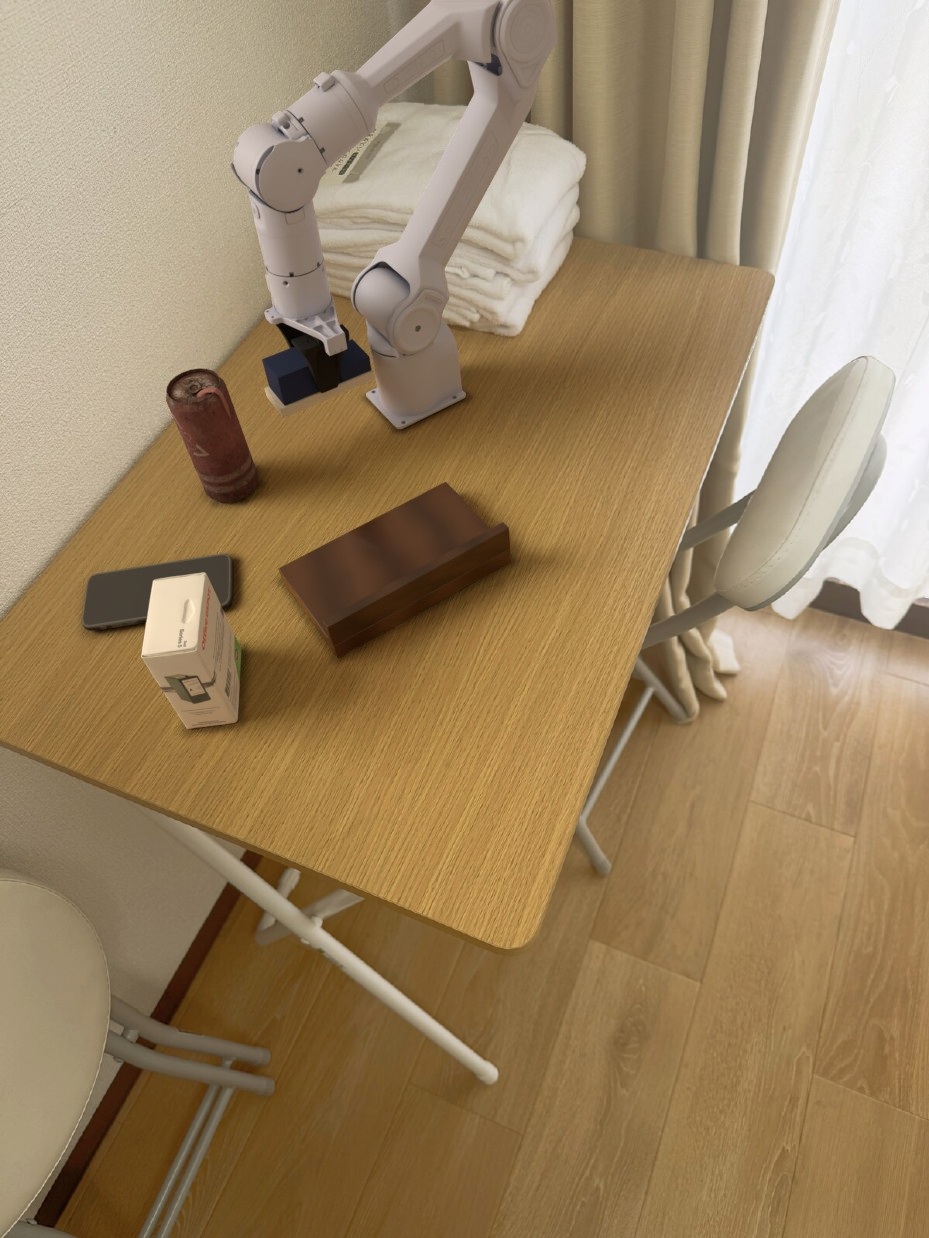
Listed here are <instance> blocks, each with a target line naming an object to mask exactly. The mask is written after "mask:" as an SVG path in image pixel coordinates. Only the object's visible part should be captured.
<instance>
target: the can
mask: <svg viewBox="0 0 929 1238" xmlns="http://www.w3.org/2000/svg"><path fill="white" fill-rule="evenodd" d="M165 389H166V391H165V393H166V394H165V395H166V396H165V402H166V404H167V406H168V408H169V411H170V413H171V416H172V418H173V420H174V423H175V425H176V427H177V430H178V432H179V434H180V436H181V439H182V441H183V444H184V445H185V448H186V450H187V453H188V455H189V457H190V460H191V462H192V464H193V466H194V469H195V471H196V475H198V478H199V481H200V483H201V485H202V487H203V489H204V492H205V494H206V496H207V497H209V498H210V499H211V500H213V501H215V502H219V503H221V504H231V503H237V502H240V501H243V500H245V499H246V498H248V497H249V496H251V494H252V493H254V491H255V489H256V487H257V484H258V482H259V473H258V470H257V467H256V465H255V462H254V459H253V456H252V453H251V451H250V447H249V446H248V441H247V439H246V437H245V435H244V431H243V429H242V426H241V423H240V421H239V418H238V415H237V413H236V409H235V406H234V403H233V401H232V400H233V399H232V398H231V396H230V395H231V394H230V393H229V390H228V387H227V384H226V382H225V380H224V379H223V378H222V377H220V376H219V374H218V373H217V372H215V371H214V370H213V369H209V368H200V367H199V368H192V369H188V370H186V371H183V372H181V373H179V374H176V375H175V376H174V377H173V378H172V379H171V380H170V381H169V382H168V383H167V386H166V388H165Z"/></svg>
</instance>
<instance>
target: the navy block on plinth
mask: <svg viewBox="0 0 929 1238" xmlns="http://www.w3.org/2000/svg"><path fill="white" fill-rule="evenodd" d="M370 358H371V356H369V354H368V353H367V352H366V351H365V350H364V349H363V348H361V346H360V345H359V344H358V342H356V340H354V339H353V338H351V339H349V341H348V343H347V349H346V350H344V352H343V355H342V358H341V364H340V374H339V384H338V387H337V388H334V389H332V390H329V391H327V392H325V393H321V392H320V391H319V390H318V388H317V386H316V384H315V382H314V380H313V377H312V375H311V372H310V369H309V367H308V365H307V363H306V361H305V359H304V357H303V356H302V354H301V353H300V352H299V351H298V349H297V348H296V347H292V348H289V347H288V348H287V349H284V350H282V351H279V352H277V353H274V354H271V355H269V356H267V357H264V358H261V361H262V366H263V369H264V372H265V377H266V380H267V384H268V386H266V387H264V392H265V396H266V398H267V399H268V400H269V402H270V403H271V404H272V405H273V407H274V408H275V409H276V411H277V412H278V413H279V414H280V416H281V417H282V418H286V417H287V418H288V417H289V416H291V415H294V414H297V413H299V412H301V411H304V410H306V409H308V408H311V407H313V406H316V405H318V404H321V403H323V402H326V401H327V400H330V399H332V398H335V397H337V396H339V395H342V394H344V393H346V392H349V391H352V390H354V389H357V388H359V387H361V386H363V385H366V384H369V383H370V382H373V381H375V379H374V378H375V377H374V371H373V370H372V364H371V359H370Z"/></svg>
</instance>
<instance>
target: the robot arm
mask: <svg viewBox="0 0 929 1238" xmlns="http://www.w3.org/2000/svg"><path fill="white" fill-rule="evenodd" d="M558 39H559V37H558V29H557V24H556V17H555V11H554V6H553V3H552V0H430V1H429V3H428V4H427V5H425V7H424V8H422V10H421V11H419V12H418V13H417V14H416V15H415V16H414V17H413V18H412V19H410V21H409V22H408V23H407V24H406V25H404V26H403V27H402V28H401V29H400V30H399V31H398V32H397V33H396V34H395V35H394V36H393V37H391V38H390V40H388V41H387V42H386V43H385V44H384V45H383V46H382V47H381V48H379V50H378V51H376V52H375V53H374V54H373V55H372V56H371V57H370V58H369V59H368V60H367V61H365V62H364V64H363V65H361V66H360V67H359V68H358V69H357V70H356V71H354V72H350V71H345V70H341V69H334V70H333V71H332V72H330V74H328V73H327V72H325V71H321V72H320V73H319V74H318V75H317V76H315V77H314V78H313V80H312V82H313V84H314V86H313V87H312V88H311V89H310V90H308V91H307V92H306V93H305V94H303V95H302V96H300V98H298V99H297V100H296V101H294V103H292V104H291V105H290V106H289V107H287V108H286V109H285V110H283V111H282V110H281V109H280V110H278V111H277V112H275V113H274V114H273V115H271V119H272V121H271V122H270V123H268V122H263V124H261V123H255V124H253V125H250V126H249V127H248V128H246V129H245V130H244V131H243V132H242V133H241V134H240V136H239V137H238V139H237V140H236V145H235V146H234V149H233V154H232V159H233V161H231V162H229V165H230V168H231V171H232V173H233V175H234V176H235V178H236V179H237V180H238V181H239V182H240V183H241V184H242V185H243V186H245V188H247V189H248V192H247V195H248V198H249V203H250V208H251V211H252V216H253V223H254V227H255V231H256V234H257V238H258V243H259V247H260V252H261V256H262V259H263V260H262V261H263V263H264V268H265V272H266V273H264V277H265V282H266V286H267V289H268V291H269V292H270V297H271V298H270V299H271V303H272V306H271V307H270V308H267V309H265V310H264V311H263V313H264V316H265V317H264V318H265V319H266V320H267V322H268V323H269V324H270V325H273V326H276V327H277V329H278V330H279V332H280V333H281V335H282V336H283V339H284V340H285V342H286V344H287V347H288V349H289V348H292V347H296V348H297V349H298V351H299V352H300V353H301V354H302V356H303V357H304V359H305V361H306V363H307V365H308V367H309V369H310V372H311V375H312V377H313V380H314V382H315V384H316V386H317V388H318V390H319V391H320V392H321V393H325V392H327V391H329V390H332V389H334V388H337V387H338V384H339V374H340V364H341V358H342V355H343V352H344V350H346V349H347V343H348V341H349V340H351V339H350V330H349V329H348V328H347V327H346V326H345V325H344V324H343V323H341V324H340V321H339V318H338V313H337V308H336V304H335V299H334V295H333V294H332V292H331V289H330V284H329V280H328V279H329V278H328V274H327V268H326V262H325V257H324V252H323V248H322V242H321V236H320V231H319V225H318V221H317V213H316V209H315V206H314V201H313V199H314V198H315V196H316V193H317V191H318V189H319V186H320V181H321V179H322V178H323V176H324V175H326V174H327V170H328V169H329V168H330V167H331V166H333V165H334V164H335V163H337V161H339V160H340V159H341V158H343V157H344V156H345V155H346V154H347V153H349V152H351V150H352V149H354V148H355V147H356V146H357V145H358V144H360V143H361V142H362V141H364V140H365V139H366V138H367V137H368V136H370V135H371V134H372V133H373V132H374V131H375V130H376V127H377V120H378V114H379V109H380V108H382V107H383V106H384V105H386V104H388V103H389V102H390V101H392V100H393V99H395V98H396V97H397V96H399V95H401V94H402V93H403V92H405V91H406V90H407V89H409V88H410V87H412V86H413V85H415V84H416V83H417V82H419V81H420V80H421V79H423V78H424V77H426V76H427V75H429V74H430V73H431V72H433V71H435V70H436V69H437V68H439V67H440V66H441V65H443V64H445V63H446V62H447V61H449V60H457V61H464V62H467V65H468V69H469V73H470V78H471V82H472V86H473V90H474V91H473V95H472V96H471V99H470V101H469V103H468V105H467V107H466V108H465V111H464V113H463V115H462V116H461V119H460V121H459V123H458V124H457V126H456V128H455V130H454V133H453V135H452V137H451V138H450V140H449V142H448V144H447V146H446V148H445V150H444V152H443V153H442V155H441V157H440V160H439V162H438V164H437V165H436V168H435V169H434V171H433V174H432V175H431V177H430V179H429V181H428V183H427V185H426V187H425V189H424V190H423V192H422V194H421V197H420V199H419V200H418V203H417V204H416V206H415V209H414V210H413V213H412V214H411V216H410V219H408V222H407V224H406V226H405V228H404V230H403V232H402V234H401V236H400V238H399V240H397V241H395V242H393V243H389V244H386V245H385V246H382V247H380V248H378V250H377V252H376V254H375V256H374V258H373V259H372V261H370V263H369V264H368V265H367V266H366V267H364V269H362V270H361V271H360V272H359V273H358V274H357V276H356V278H355V279H354V281H353V283H352V286H351V291H350V302H351V305H352V307H353V309H354V311H355V312H356V313H357V314H358V315H359V316H361V318H364V319H365V323H366V329H367V330H366V331H367V333H366V335H367V336H366V337H367V342H368V348H369V353H370V358H371V362H372V367H373V374H374V378H375V383H376V387H374V388H373V389H371V390H369V391H367V392H366V393H365V396H366V398H367V399H368V401H370V403H372V404H373V406H374V407H375V408H376V409H377V410H378V411H379V412H380V413H381V414H382V415H383V416H384V417H385V418H386V419H387V420H388V421H389V422H390V423H391V424H392V426H393V427H395V429H396V430H403V429H405V428H407V427H409V426H411V425H413V424H415V423H417V422H419V421H421V420H424V419H425V418H427V417H429V416H431V415H433V414H436V413H438V412H439V411H441V410H443V409H445V408H447V407H450V406H452V405H453V404H456V403H457V402H459V401H462V400H464V399H465V398H466V397H467V394H466V392H465V390H463V385H462V375H461V365H460V356H459V348H458V345H457V341H456V338H455V336H454V334H453V332H452V330H451V329H450V327H449V325H448V324H447V323H446V322H445V320H443V318H442V317H443V313H444V310H445V308H446V305H447V304H448V302H449V300H450V291H449V286H448V285H449V284H448V281H447V276H446V267H447V265H448V264H449V262H450V260H451V258H452V256H453V254H454V252H455V250H456V248H457V246H458V245H459V243H460V241H461V239H462V238H463V236H464V234H465V232H466V230H467V228H468V226H469V224H470V222H471V221H472V219H473V217H474V215H475V213H476V211H477V210H478V208H479V206H480V204H481V202H482V200H483V199H484V196H485V195H486V193H487V192H488V189H489V188H490V186H491V184H492V182H493V180H494V179H495V176H496V174H497V172H498V171H499V168H500V167H501V165H502V163H503V162H504V160H505V158H506V157H507V154H508V152H509V150H510V148H511V147H512V145H513V143H514V141H515V139H516V138H517V135H518V133H519V132H520V130H521V128H522V126H523V124H524V123H525V121H526V118H527V117H528V115H529V113H530V112H531V109H532V107H533V104H534V102H535V99H536V95H537V91H538V85H539V81H540V77H541V72H542V70H543V68H544V66H545V64H546V63H547V60H548V59H549V57H550V55H551V54H552V51H553V50H554V47H555V46H556V44H557V42H558Z"/></svg>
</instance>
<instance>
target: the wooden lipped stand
mask: <svg viewBox="0 0 929 1238" xmlns="http://www.w3.org/2000/svg"><path fill="white" fill-rule="evenodd" d="M510 537H511V536H510V527H509V526H508V525H507V524H506V523H505V522H504V521H502V522H500V523H499V524H497V525H495V526H493V527H490V525H488V524H487V523H486V522H485V521H484V520H483V519H482V517H480V515H478V513H477V512H476V511H475V510H474V509H473V508H472V507H471V506H470V505H469V504H468V503H467V502H466V501H465V500H464V499H463V498H462V497H461V496H460V495H459V494H458V492H456V490H454V489H453V487H451V485H450V484H449V483H448V482H447V481H443V482H442V483H440V484H438V485H436V486H434V487H433V488H430V489H428V490H426V491H425V492H422V493H421V494H418V495H417V496H415V497H413V498H411V499H409V500H407V501H406V502H403V503H402V504H400V505H397V506H395V507H394V508H392V509H390V510H388V511H386V512H384V513H381V514H380V515H379V516H377V517H375V518H373V519H371V520H369V521H367V522H365V523H363V524H361V525H359V526H357V527H355V528H353V529H352V530H350V531H347V532H345V533H344V534H342V535H340V536H338V537H336V538H334V539H332V540H330V541H328V542H326V543H325V544H322V545H321V546H318V547H317V548H315V549H313V550H310V551H309V552H307V553H305V554H304V555H303V554H302V555H301V556H299V557H298V558H296V559H294V560H291V561H290V562H287V563H286V564H284V565H282V566H280V567H279V568H278V569H277V570H278V572H279V575H280V577H281V580H282V582H283V584H284V585H285V586H286V588H287V589H288V590H289V592H290V593H291V595H292V596H293V598H294V599H295V600H296V602H297V603H298V605H299V606H300V607H301V609H302V610H303V612H304V614H306V616H307V618H308V619H309V620H310V621H311V623H312V625H314V628H315V629H316V630H317V632H318V633H319V634H320V636H321V637H322V639H323V640H324V641H325V643H326V645H328V647H329V648H330V649H331V651H332V653H333V654H334V655H335V657H336V658H337V659H340V658H342V657H343V656H346V655H347V654H349V653H351V652H353V651H354V650H356V649H358V648H360V647H362V646H364V645H365V644H367V643H368V642H370V641H372V640H374V639H376V638H377V637H380V636H381V635H383V634H385V633H386V632H388V631H390V630H391V629H393V628H395V627H397V626H399V625H401V624H402V623H404V622H407V620H409V619H412V618H413V617H415V616H417V615H419V614H420V613H422V612H424V611H426V610H427V609H429V608H431V607H433V606H434V605H436V604H438V603H440V602H442V601H443V600H445V599H447V598H449V597H451V596H453V595H454V594H456V593H458V592H460V591H461V590H463V589H465V588H466V587H468V586H470V585H472V584H474V583H476V582H477V581H479V580H480V579H481V580H482V578H484V577H486V576H489V574H492V573H493V572H495V571H497V570H498V569H501V568H503V567H504V566H506V565H508V564H509V563H511V562H512V555H511V554H512V553H511V540H510Z"/></svg>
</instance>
